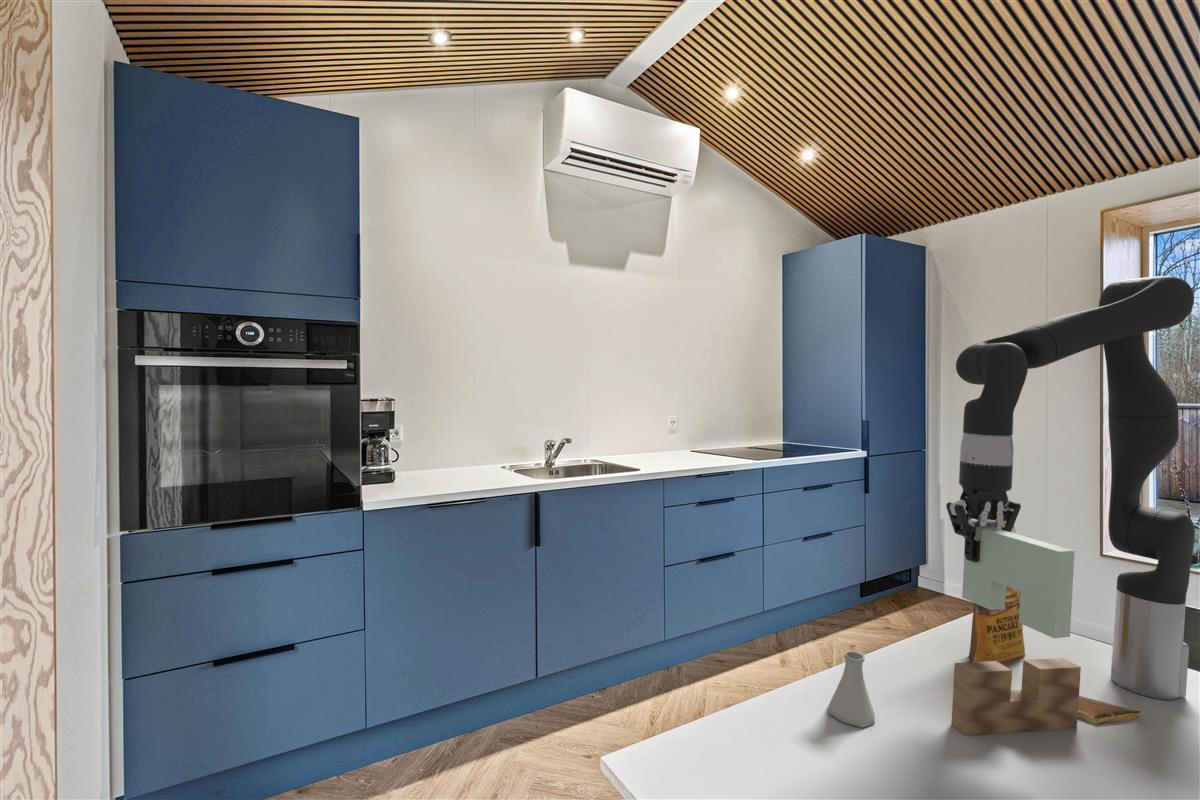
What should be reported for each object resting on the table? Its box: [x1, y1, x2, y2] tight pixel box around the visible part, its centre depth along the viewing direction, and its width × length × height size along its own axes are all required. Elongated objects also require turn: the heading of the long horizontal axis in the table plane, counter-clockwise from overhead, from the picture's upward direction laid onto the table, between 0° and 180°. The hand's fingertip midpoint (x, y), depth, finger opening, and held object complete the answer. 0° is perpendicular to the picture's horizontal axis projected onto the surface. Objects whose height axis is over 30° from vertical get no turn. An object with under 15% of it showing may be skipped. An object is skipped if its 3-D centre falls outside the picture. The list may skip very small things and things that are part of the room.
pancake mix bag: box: [968, 521, 1026, 664], centre depth 117 cm, size 7×19×28 cm, turn 115°
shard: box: [1078, 695, 1142, 725], centre depth 96 cm, size 11×8×2 cm
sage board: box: [961, 525, 1075, 639], centre depth 93 cm, size 16×3×13 cm, turn 14°
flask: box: [827, 649, 875, 729], centre depth 93 cm, size 7×7×10 cm
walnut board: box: [950, 657, 1082, 737], centre depth 92 cm, size 20×3×10 cm, turn 99°
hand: (981, 559), depth 98 cm, fingers closed on sage board, 3 cm apart
